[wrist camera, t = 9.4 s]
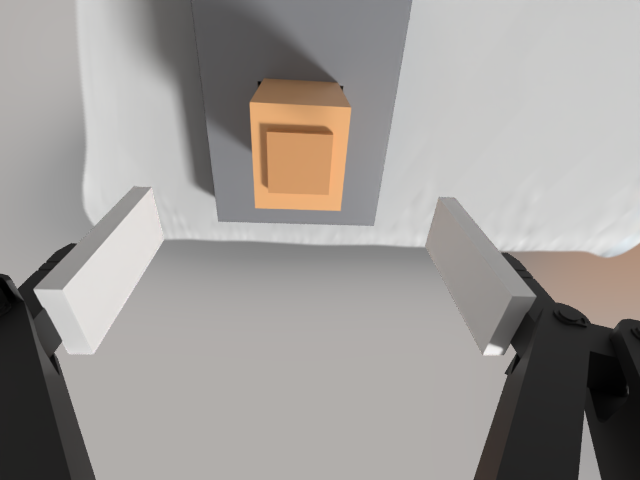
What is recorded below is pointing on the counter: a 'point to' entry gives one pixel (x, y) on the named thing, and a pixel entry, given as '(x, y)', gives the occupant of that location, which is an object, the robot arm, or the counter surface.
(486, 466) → the robot arm
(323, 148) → the plug
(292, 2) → the socket
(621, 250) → the counter surface
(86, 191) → the counter surface
